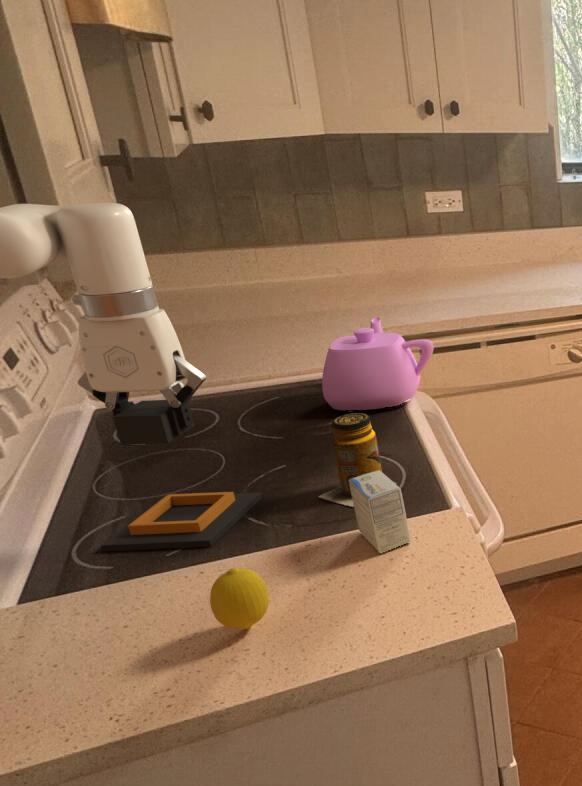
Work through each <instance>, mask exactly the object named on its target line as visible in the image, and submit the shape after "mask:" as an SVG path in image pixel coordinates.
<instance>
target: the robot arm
mask: <svg viewBox="0 0 582 786" xmlns="http://www.w3.org/2000/svg"><path fill="white" fill-rule="evenodd" d="M65 261H68V265H69V268H70V271H71V275H72V279H73V281H74V285H75V288H76V291H77V294H74V295H72V297H71V302H72V304H73V305H75V306H80V307H82V310H83V313H84V315H81V316H79V318H78V337H79V346H80V352H81V357H82V362H83V366H84V370H85V371H83V373H82V374H81V376H80V377H79V378H78V380H77V384H78V386H80V388H83V389H84V390H86V391H87V392H89V393H91V394H92V396H93V397H94V398H96V399H97V400H99V401H100V402H102V403H103V404H104V407H105V408H106V409H107V410H111V411H112V414H113V416H115V415H117V414H119V413H121V412H122V411H124V410H126V409H128V408H130V407H131V406H133V405H135V404H136V403H134V401H133V400H132V401H129V398H130V393H136V392H137V393H138V392H140V393H141V392H160V393H161V394H162V396H163V397H164V399H165V400H167V401H168V402H169V404H170V405H171V407H169V408H168V409H167V411H168V414H169V418H170V421H171V425H172V428H173V432H174V434H175V435H180V436H182V435H183V434H185V433H186V432H188V431H189V430H191V429H192V428H193V427H192V423H193V422H194V419H193V420H192V418H193V415H192V411H191V408H190V409H189V407H190V404H189V401H191V400H192V397H193V396H194V395H195V393H196V392H197V391H198V389H199V388H200V387H201V386H202V384H203V383H205V381H206V379H207V375H206V374H204V373H203V372H202V371H200V370H199V369H198V368H196V367H195V366H194V365H192V364H191V363H190V362H188V361H187V360H186V357H185V354H184V351H183V348H182V345H181V343H180V340H179V338H178V335H177V333H176V330H175V328H174V326H173V324H172V322H171V320H170V318H169V316H168V313H166V311H165V309H164V308H160V307H159V303H158V300H157V296H156V293H155V289H154V285H153V282H152V278H151V273H150V271H149V268H148V264H147V260H146V256H145V253H144V249H143V245H142V241H141V238H140V235H139V230H138V228H137V223H136V219H135V217H134V214H133V212H132V211H131V209H130V208H129V207H127V206H126V205H124V204H121V203H117V202H90V203H80V204H72V205H54V204H53V205H52V204H37V203H14V204H9V205H6V206H1V207H0V279H17V278H18V279H19V278H23V277H26V276H28V275H31V274H33V273H35V272H36V271H38V270H40V269H42V268H44V267H47V266H50V265H53V264H55V263H59V262H65ZM185 379H186V380H187V382H186V384H185V385H184V384H183V382H182V380H185ZM188 404H189V405H188ZM190 411H191V412H190ZM191 415H192V416H191Z"/></svg>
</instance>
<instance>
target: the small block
mask: <svg viewBox="0 0 582 786" xmlns="http://www.w3.org/2000/svg"><path fill="white" fill-rule="evenodd" d="M134 404H135V405H133V406H131V407H130V408H128V409H126V410H124V411H122V412H121V413H119V414H117V415H115V416H114V415H113V416H112V420H113V424H114V427H115V429H116V433H117V436H118V440H119V443H120V445H121V446H126V445H129V446H130V445H155V444H169V443H172V442H173V441H174V440H175V439H177V438H178V437H180V436H181V435H175V434H174V432H173V428H172V425H171V421H170V418H169V414H168V411H167V409H168V408H169V407H171V405H170V404H169V402H168V401H167V400H166V399H154V400H153V399H151V400H140V401H139V402H137V403H134ZM188 405H189V409H190V412H191V413H192V411H191V408H190V404H189V403H188ZM191 416H192V420H193V423H192V428H193V427H195V423H194V419H193V415H192V414H191Z"/></svg>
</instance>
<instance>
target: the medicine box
mask: <svg viewBox="0 0 582 786" xmlns="http://www.w3.org/2000/svg"><path fill="white" fill-rule="evenodd" d="M394 482H395V481H393V480H392V479H390V478H389V477H388V475H386V474H385V473H384V472H383V471H382V472H381V471H375V472H371V473H367V474H364V475H361V476H358V477H355V478H352V479H350V480H349V485H350V491H351V495H352V500H353V504H354V506H353V509H354V513H355V518H356V523H357V527H358V531H360V532H361V533H362V534H363V535H364V536H365V537H364V536H363V535H362V534H361V533H360V532H359V533H360V534H361V535H362V536H363V537H364V538H365V540H366V539H367V540H368V541H369V542H370V543H371V544H372V545H373V546H374V547H375V548H374V547H373V546H372V545H371V544H370V543H369V542H368V541H367V540H366V541H367V542H368V543H369V544H370V545H371V546H372V547H373V548H374V549H375V551H377V553H378V554H379V553H381V554H384V553H386V552H385V551H387V552H389V551H388V550H390V551H392V550H391V549H392V548H395V549H397V548H396V547H398V546H400V547H402V546H401V545H403V544H405V543H408V542H410V541H411V542H412V539H411V534H410V529H409V524H408V518H407V513H406V508H405V503H404V498H403V493H402V489H401V487H399V486H398V485H397V483H396V482H395V483H396V484H395V483H394ZM411 542H410V543H411ZM403 546H404V545H403ZM398 548H399V547H398ZM383 552H384V553H383Z"/></svg>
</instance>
